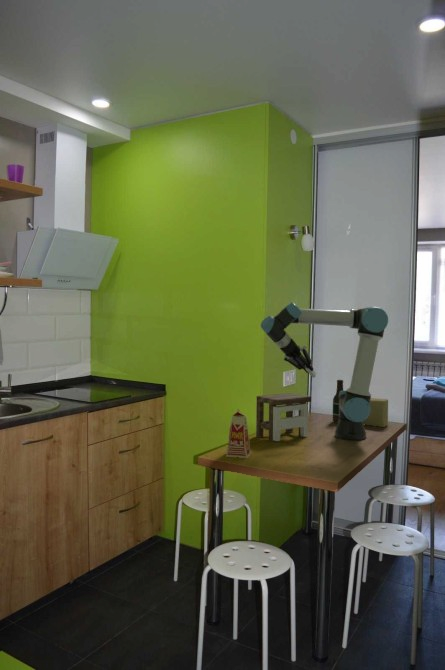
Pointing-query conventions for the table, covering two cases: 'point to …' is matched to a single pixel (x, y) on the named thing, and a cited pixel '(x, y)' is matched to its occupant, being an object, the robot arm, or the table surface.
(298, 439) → the table surface
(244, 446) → the milk carton
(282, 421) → the gate leg
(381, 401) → the cheese
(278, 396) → the stool
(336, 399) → the beer bottle
